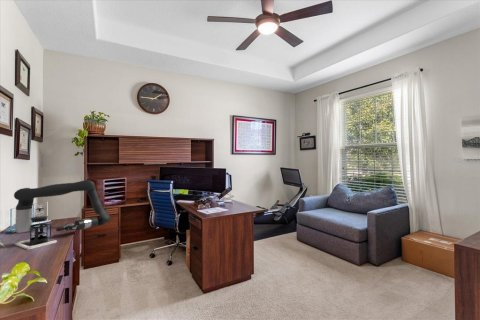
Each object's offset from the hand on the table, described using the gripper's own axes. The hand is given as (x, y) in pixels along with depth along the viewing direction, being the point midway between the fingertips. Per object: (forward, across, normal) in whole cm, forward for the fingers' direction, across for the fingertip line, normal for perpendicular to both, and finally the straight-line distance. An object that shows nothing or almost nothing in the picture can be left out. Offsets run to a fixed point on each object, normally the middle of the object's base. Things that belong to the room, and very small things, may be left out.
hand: (56, 229), depth 163 cm
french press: (+10, 0, +6) cm, 12 cm away
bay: (+12, 0, +6) cm, 13 cm away
